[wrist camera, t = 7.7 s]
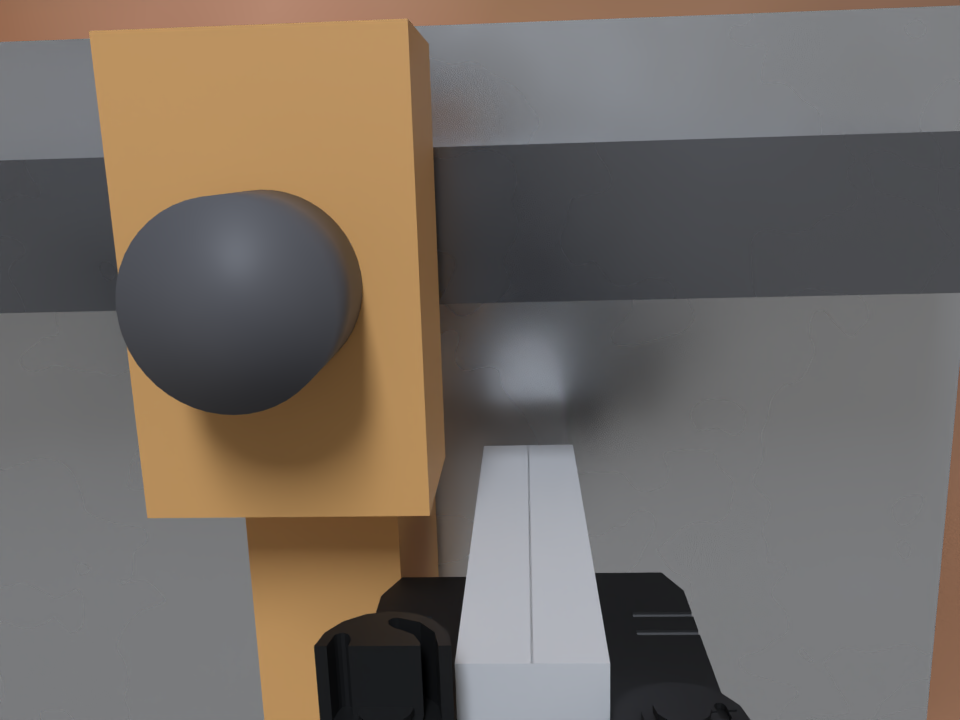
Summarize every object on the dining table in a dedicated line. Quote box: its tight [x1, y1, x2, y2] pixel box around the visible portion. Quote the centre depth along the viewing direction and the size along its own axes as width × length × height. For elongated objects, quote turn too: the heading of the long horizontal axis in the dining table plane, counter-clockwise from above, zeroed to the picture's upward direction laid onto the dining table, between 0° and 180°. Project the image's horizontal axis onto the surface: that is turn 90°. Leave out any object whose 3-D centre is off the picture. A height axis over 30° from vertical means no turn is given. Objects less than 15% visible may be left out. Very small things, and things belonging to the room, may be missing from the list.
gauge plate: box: [0, 6, 960, 720], centre depth 14 cm, size 28×14×7 cm, turn 92°
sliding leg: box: [89, 19, 445, 720], centre depth 12 cm, size 3×11×7 cm, turn 1°
